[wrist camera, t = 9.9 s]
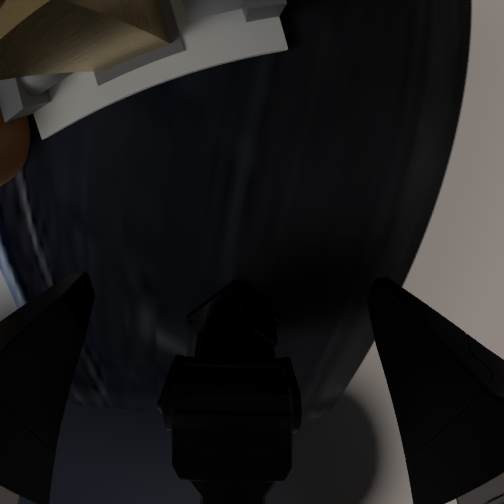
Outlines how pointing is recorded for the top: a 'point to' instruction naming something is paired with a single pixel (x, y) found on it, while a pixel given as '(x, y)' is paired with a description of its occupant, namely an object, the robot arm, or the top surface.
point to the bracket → (13, 146)
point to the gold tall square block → (76, 35)
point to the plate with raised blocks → (151, 61)
